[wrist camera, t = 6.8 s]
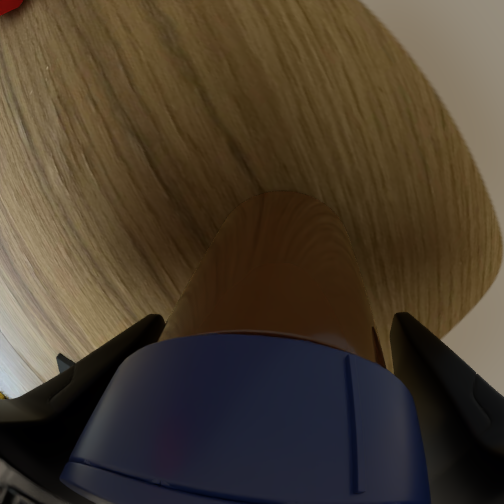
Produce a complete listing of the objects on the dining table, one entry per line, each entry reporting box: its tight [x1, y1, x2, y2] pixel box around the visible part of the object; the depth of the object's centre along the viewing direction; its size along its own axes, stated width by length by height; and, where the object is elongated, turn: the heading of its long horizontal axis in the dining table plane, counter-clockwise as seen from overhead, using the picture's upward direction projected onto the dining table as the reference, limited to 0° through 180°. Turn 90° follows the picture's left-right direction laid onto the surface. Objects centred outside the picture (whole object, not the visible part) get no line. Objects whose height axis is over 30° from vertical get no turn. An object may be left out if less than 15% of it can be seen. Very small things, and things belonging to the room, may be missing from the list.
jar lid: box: [60, 333, 431, 504], centre depth 4 cm, size 7×7×3 cm
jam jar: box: [155, 191, 386, 369], centre depth 8 cm, size 6×6×10 cm
